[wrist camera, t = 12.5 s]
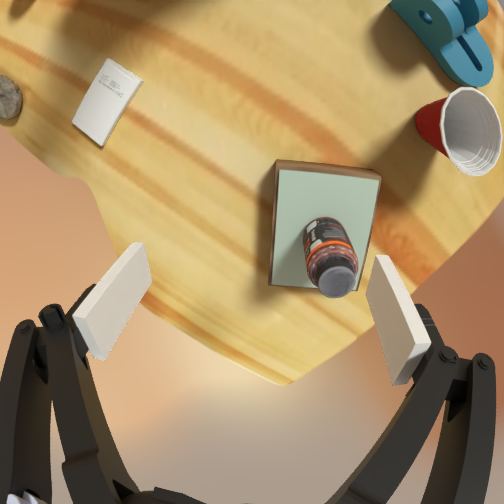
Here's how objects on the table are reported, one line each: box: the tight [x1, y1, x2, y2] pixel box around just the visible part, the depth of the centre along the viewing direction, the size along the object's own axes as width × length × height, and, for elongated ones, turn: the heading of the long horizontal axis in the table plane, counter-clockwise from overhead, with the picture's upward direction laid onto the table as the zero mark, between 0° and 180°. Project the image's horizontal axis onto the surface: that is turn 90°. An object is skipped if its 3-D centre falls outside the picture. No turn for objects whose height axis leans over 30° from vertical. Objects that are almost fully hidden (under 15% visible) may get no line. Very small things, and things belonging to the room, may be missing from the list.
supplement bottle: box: [303, 217, 359, 298], centre depth 33 cm, size 6×6×11 cm
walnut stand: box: [268, 159, 382, 291], centre depth 40 cm, size 18×14×5 cm
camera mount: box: [388, 0, 494, 87], centre depth 21 cm, size 18×10×10 cm, turn 45°
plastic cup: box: [415, 87, 503, 177], centre depth 28 cm, size 11×11×12 cm
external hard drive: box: [72, 58, 144, 146], centre depth 36 cm, size 2×8×12 cm
